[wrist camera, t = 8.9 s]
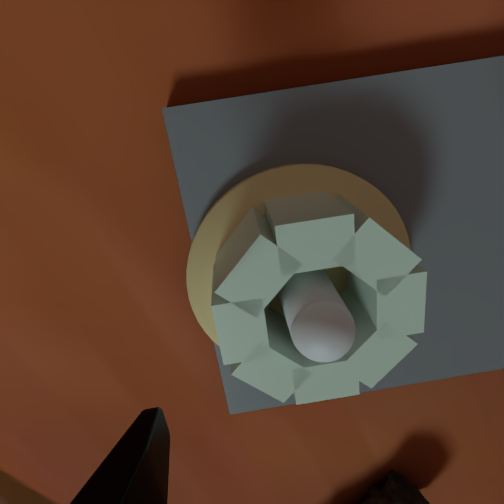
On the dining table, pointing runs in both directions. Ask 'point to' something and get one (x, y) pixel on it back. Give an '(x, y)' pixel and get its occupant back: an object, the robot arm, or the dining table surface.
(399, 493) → the hand tool
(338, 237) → the ring
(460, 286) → the rod board
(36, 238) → the dining table surface
